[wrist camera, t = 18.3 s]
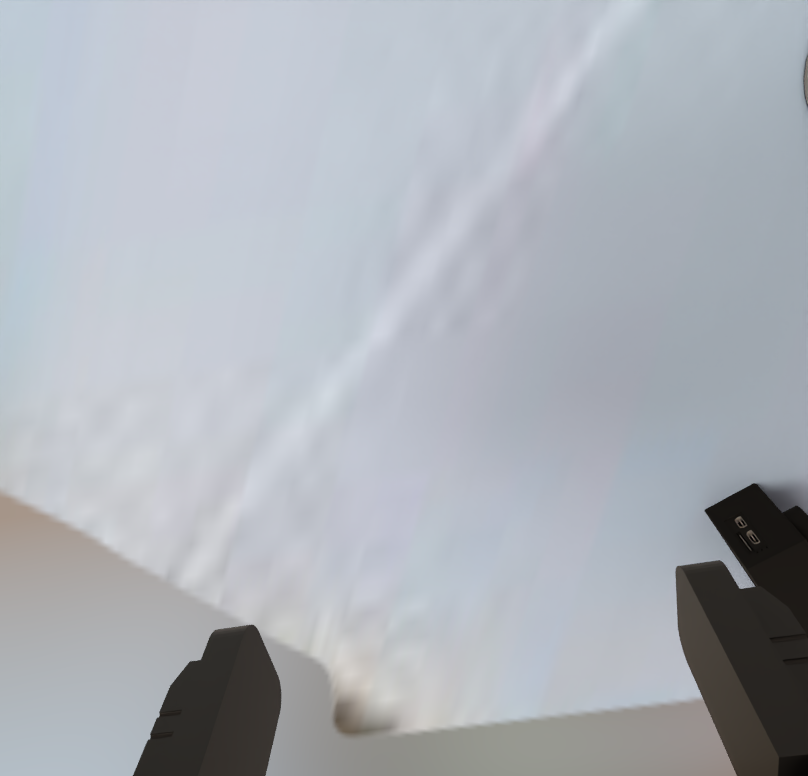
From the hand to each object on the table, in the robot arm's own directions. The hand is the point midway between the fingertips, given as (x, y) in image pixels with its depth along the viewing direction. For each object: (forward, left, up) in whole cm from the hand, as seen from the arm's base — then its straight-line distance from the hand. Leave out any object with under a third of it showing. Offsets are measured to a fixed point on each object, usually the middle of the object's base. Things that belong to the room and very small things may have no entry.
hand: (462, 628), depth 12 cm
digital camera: (-22, +29, -33) cm, 49 cm away
